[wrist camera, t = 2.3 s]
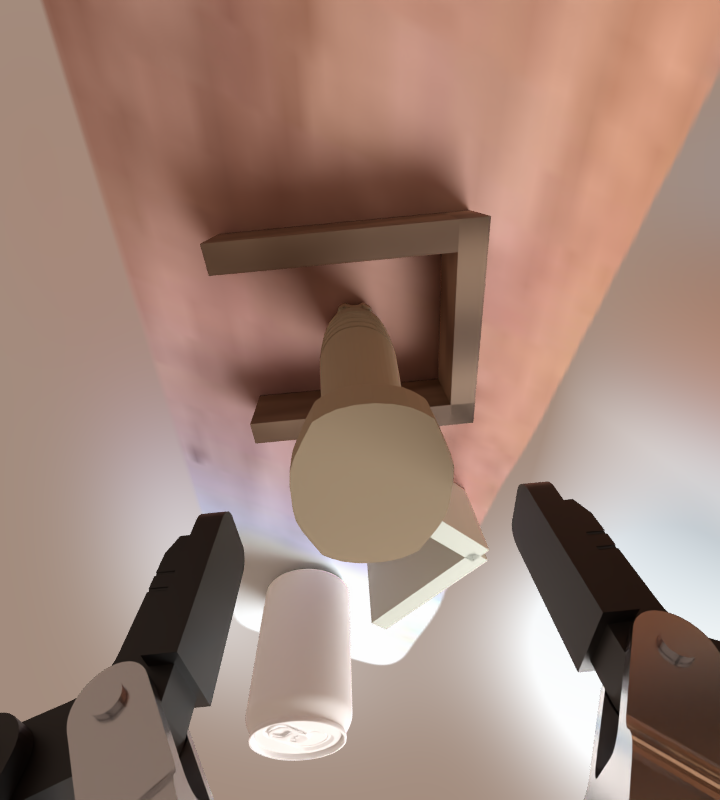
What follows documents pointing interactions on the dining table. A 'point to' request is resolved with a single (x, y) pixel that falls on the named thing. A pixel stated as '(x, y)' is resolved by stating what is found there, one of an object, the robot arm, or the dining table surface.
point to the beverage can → (302, 668)
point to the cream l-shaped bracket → (428, 564)
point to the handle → (368, 451)
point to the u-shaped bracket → (374, 240)
